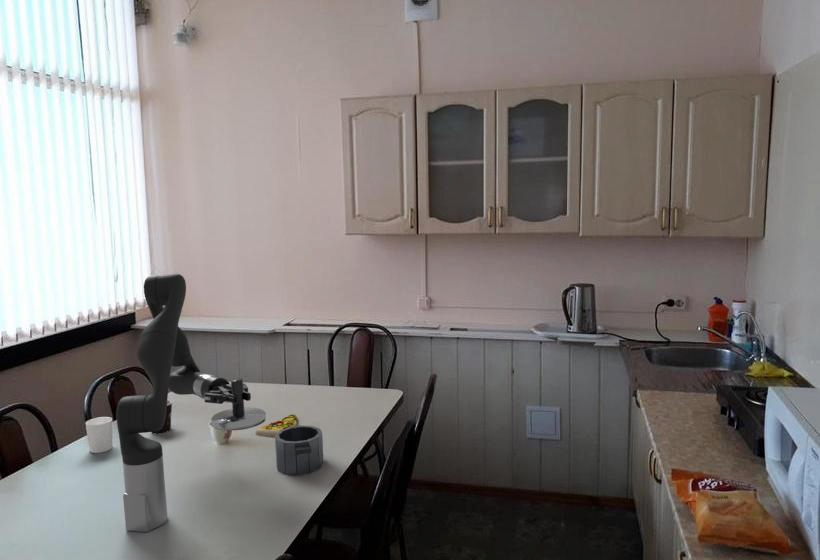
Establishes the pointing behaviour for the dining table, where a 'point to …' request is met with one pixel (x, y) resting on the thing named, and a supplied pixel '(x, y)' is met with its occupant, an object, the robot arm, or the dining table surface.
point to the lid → (238, 413)
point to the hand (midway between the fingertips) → (243, 398)
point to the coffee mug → (166, 419)
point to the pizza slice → (277, 426)
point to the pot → (299, 450)
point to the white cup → (99, 434)
